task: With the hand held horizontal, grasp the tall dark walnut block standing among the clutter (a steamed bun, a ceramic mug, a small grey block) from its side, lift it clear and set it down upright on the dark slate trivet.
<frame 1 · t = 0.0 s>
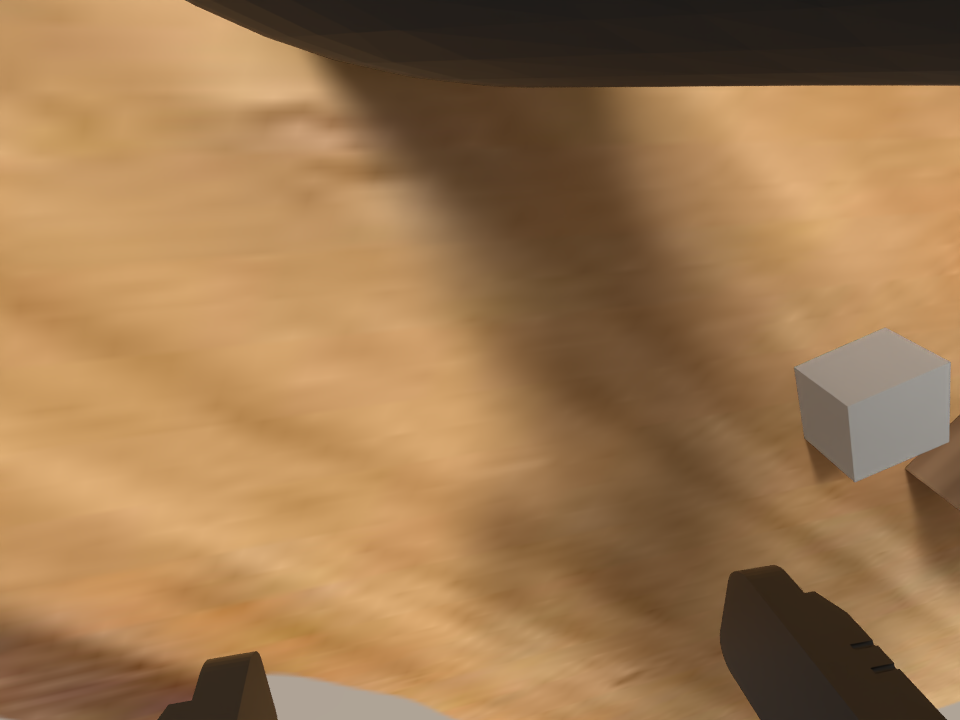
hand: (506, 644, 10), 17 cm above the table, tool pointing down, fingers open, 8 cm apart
walnut block: (954, 454, 36), on the table
grey block: (841, 383, 32), on the table
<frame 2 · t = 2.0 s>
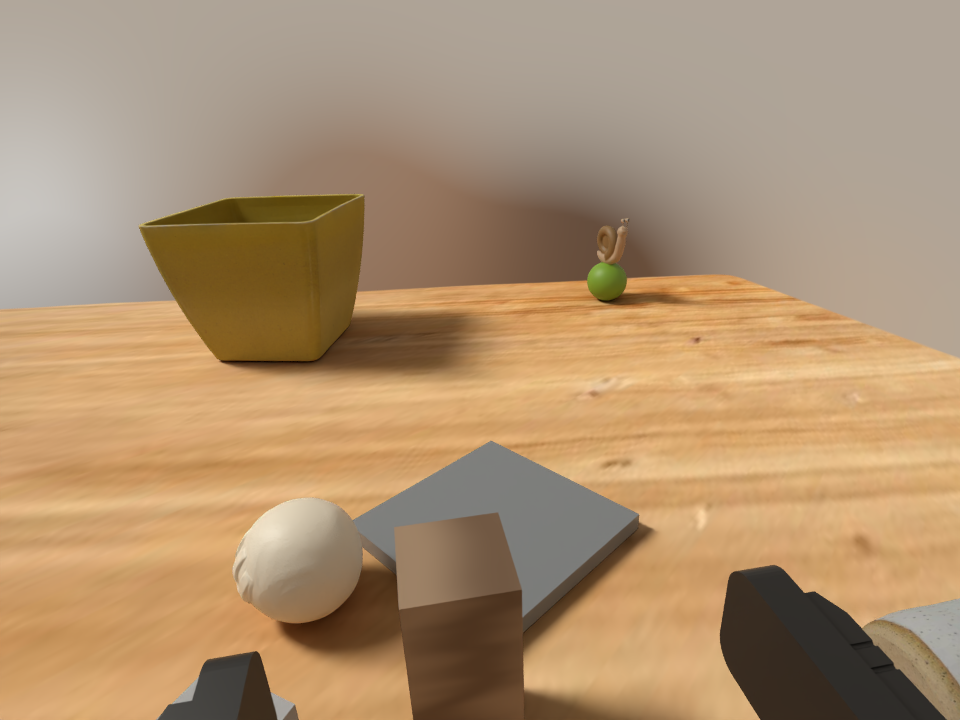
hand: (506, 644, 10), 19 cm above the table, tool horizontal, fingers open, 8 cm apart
flower pot: (288, 343, 75), on the table
snail figurine: (608, 301, 84), on the table
slate trivet: (493, 532, 41), on the table
steamed bun: (308, 604, 36), on the table
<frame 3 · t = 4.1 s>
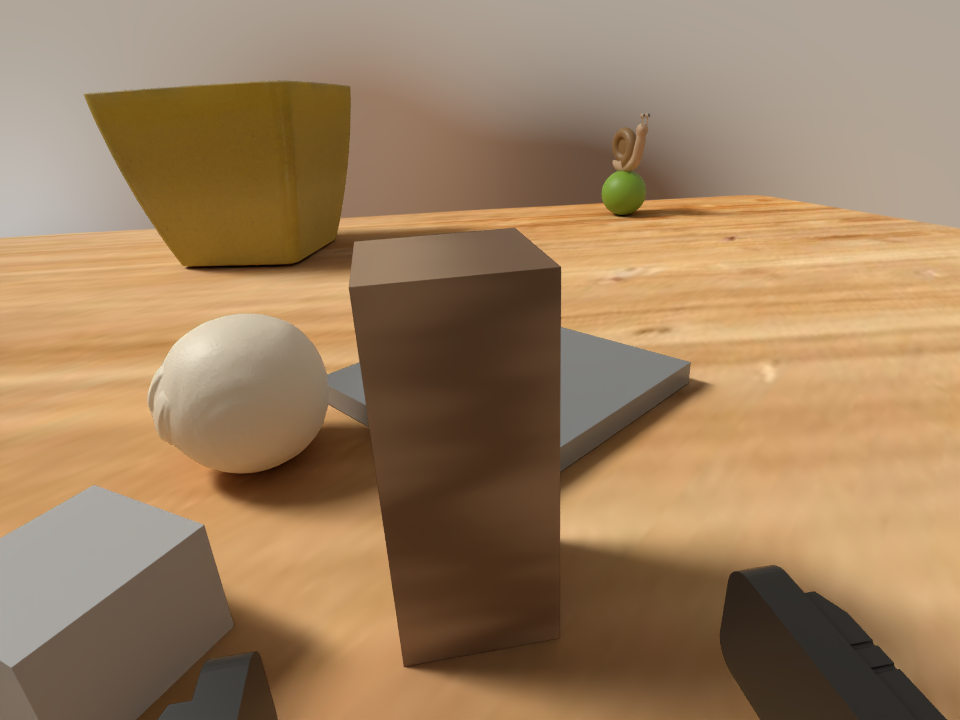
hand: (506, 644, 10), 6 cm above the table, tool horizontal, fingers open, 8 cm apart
walnut block: (470, 593, 19), on the table
flower pot: (265, 254, 66), on the table
grey block: (106, 665, 17), on the table
snail figurine: (625, 216, 75), on the table
slate trivet: (502, 390, 32), on the table
steamed bun: (258, 462, 27), on the table
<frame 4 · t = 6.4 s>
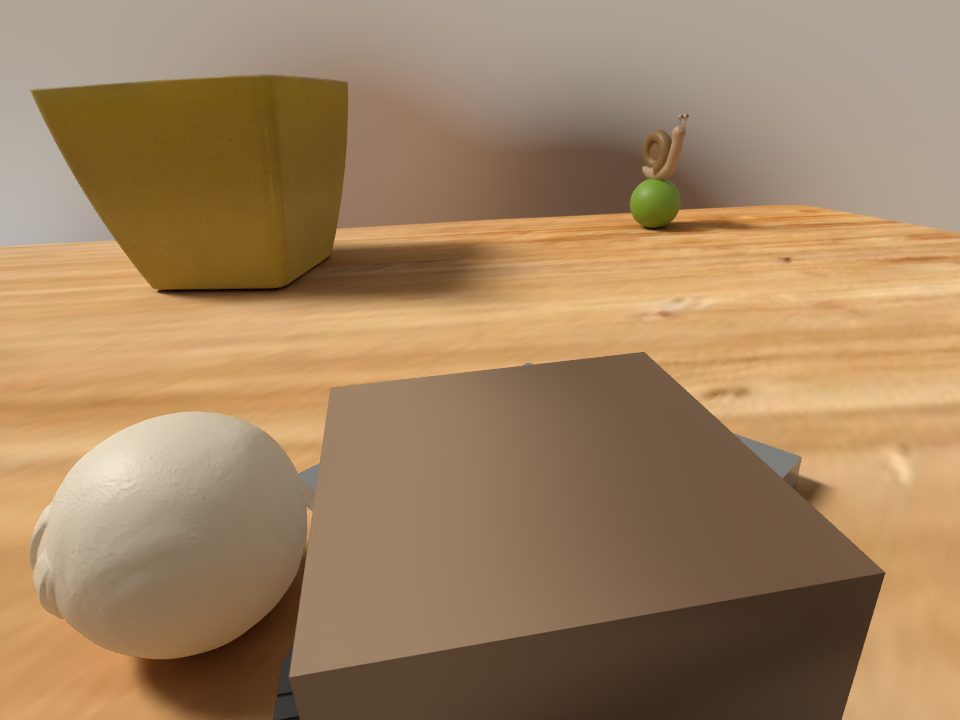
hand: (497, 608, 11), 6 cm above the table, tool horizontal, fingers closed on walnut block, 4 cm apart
flower pot: (250, 274, 58), on the table
snail figurine: (655, 230, 67), on the table
slate trivet: (545, 491, 24), on the table
steamed bun: (206, 618, 19), on the table
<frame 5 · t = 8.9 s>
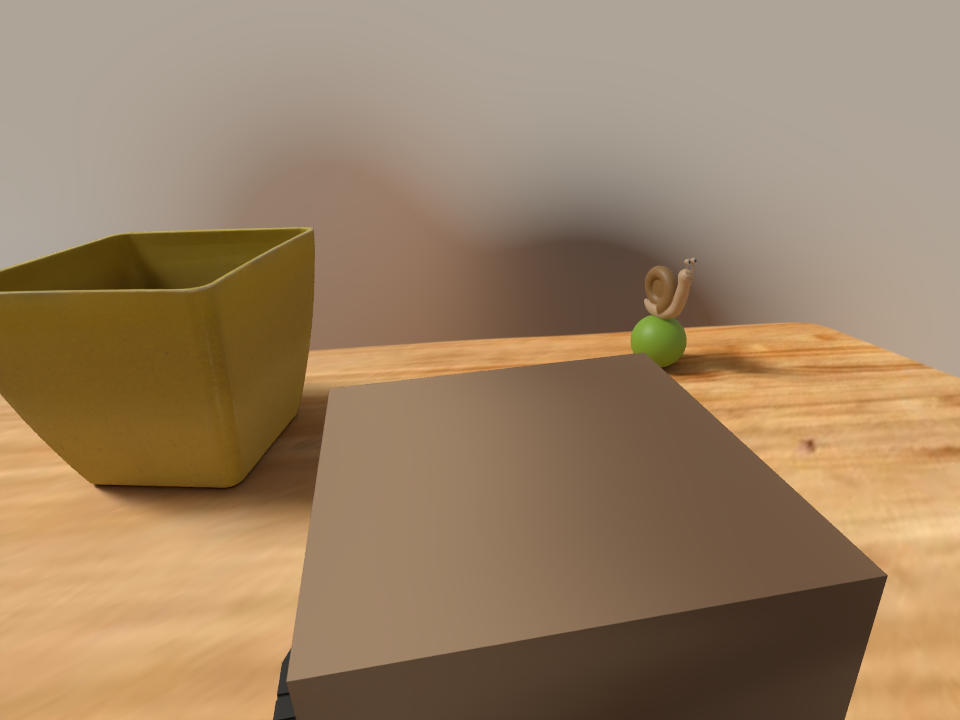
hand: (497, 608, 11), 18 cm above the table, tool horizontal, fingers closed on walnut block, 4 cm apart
flower pot: (204, 446, 51), on the table
snail figurine: (659, 368, 61), on the table
when the fingers open (9 cm above the table, at t = 11.3 s): walnut block drops 1 cm, resting on slate trivet.
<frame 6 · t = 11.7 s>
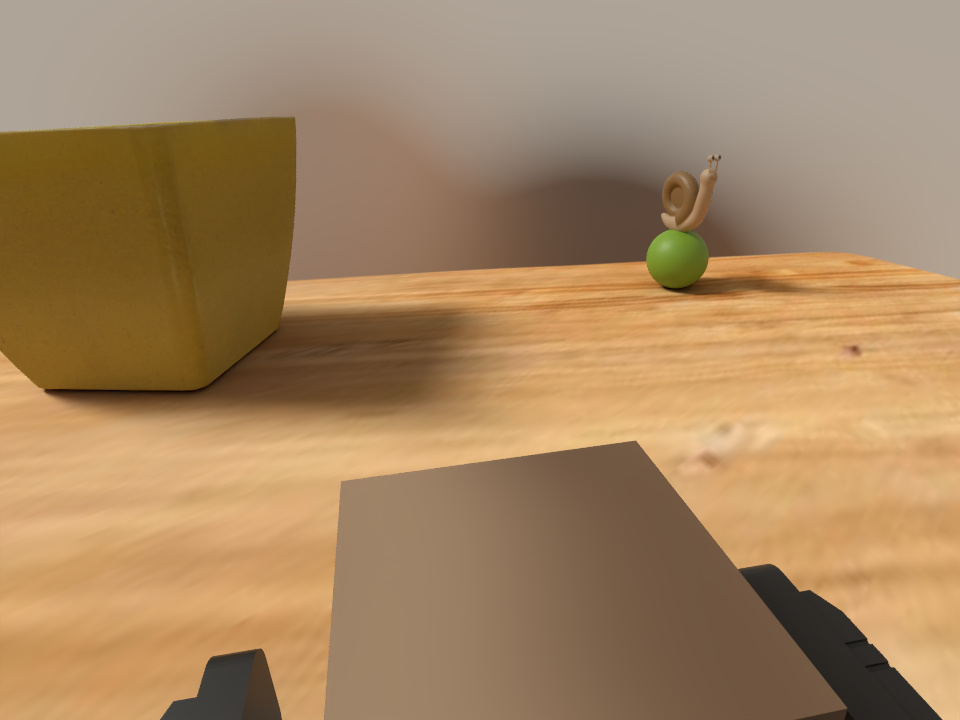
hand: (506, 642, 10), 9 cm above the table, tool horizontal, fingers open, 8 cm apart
flower pot: (172, 358, 46), on the table
snail figurine: (678, 290, 55), on the table
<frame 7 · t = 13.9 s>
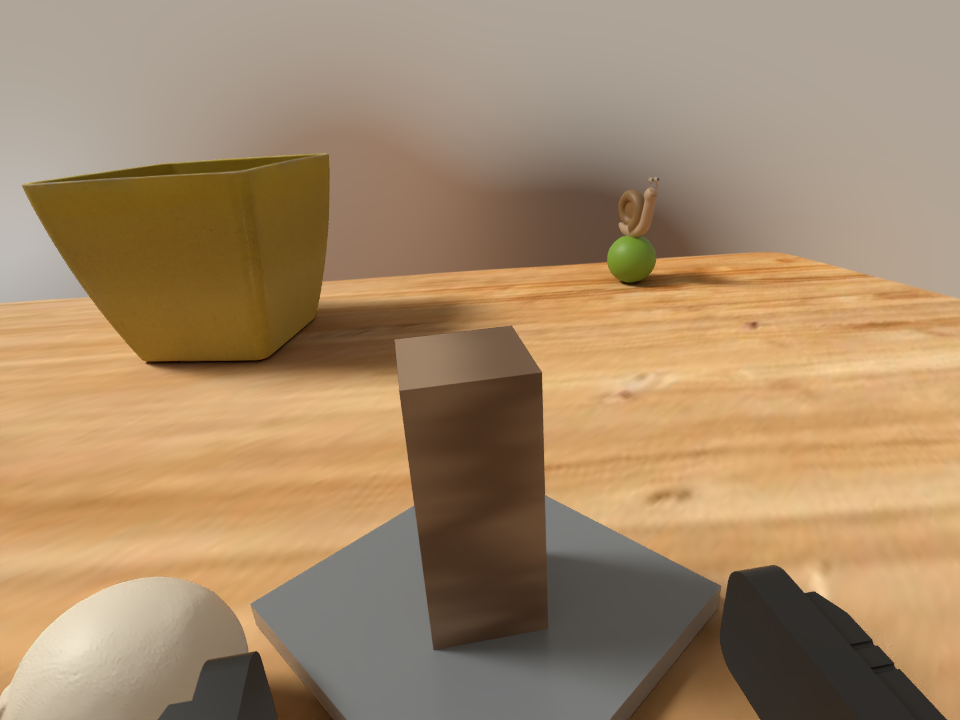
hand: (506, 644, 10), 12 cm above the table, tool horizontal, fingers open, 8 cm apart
walnut block: (481, 596, 25), point 1 cm above the table, touching slate trivet
flower pot: (236, 340, 60), on the table
snail figurine: (633, 284, 69), on the table
slate trivet: (483, 616, 25), on the table
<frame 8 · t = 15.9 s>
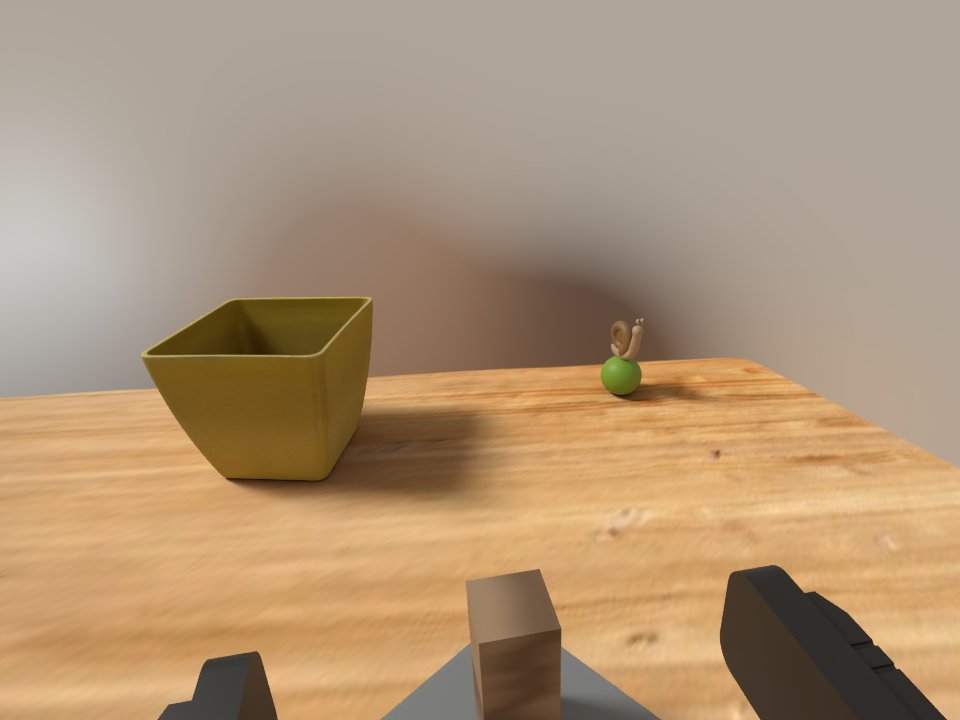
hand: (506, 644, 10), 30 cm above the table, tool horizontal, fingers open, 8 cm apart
flower pot: (294, 451, 73), on the table
snail figurine: (622, 395, 82), on the table
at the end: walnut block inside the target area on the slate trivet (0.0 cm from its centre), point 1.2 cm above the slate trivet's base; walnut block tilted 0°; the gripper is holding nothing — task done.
